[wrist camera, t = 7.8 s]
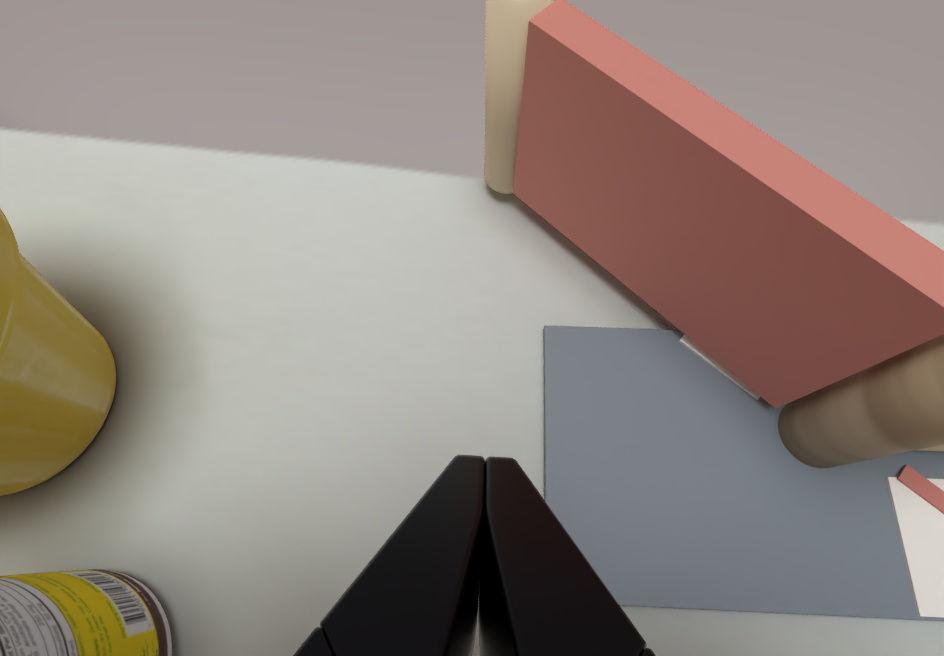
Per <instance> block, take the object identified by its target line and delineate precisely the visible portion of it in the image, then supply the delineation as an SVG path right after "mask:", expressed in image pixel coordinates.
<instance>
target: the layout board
mask: <svg viewBox="0 0 944 656" xmlns="http://www.w3.org/2000/svg"><path fill="white" fill-rule="evenodd" d="M785 405H786V404H785ZM785 405H783V406H780V407H778V408H776V409H775V408H774V407H773V406H772V405H770V404H769V403H768V402H767V401H765V400H764V399H763V398H762V397H761V396H759V395H758V394H757V393H756V392H755V391H753V390H752V389H751V388H750V387H748V386H747V385H746V384H745V383H744V382H742V381H741V380H740V379H739V378H737V377H736V376H735V375H734V374H733V373H731V372H730V371H729V370H728V369H726V368H725V367H724V366H723V365H722V364H720V363H719V362H718V361H717V360H716V359H714V358H713V357H712V356H711V355H709V354H708V353H707V352H706V351H705V350H703V349H702V348H701V347H700V346H698V345H697V344H696V343H695V342H694V341H692V340H691V339H690V338H689V337H687V336H686V335H685V334H684V333H683V332H681V331H680V330H660V329H630V328H601V327H571V326H545V327H544V459H545V502H546V503H547V505H548V506H549V507H550V509H551V510H552V512H553V513H554V514H555V516H556V517H557V519H558V520H559V521H560V523H561V524H562V526H563V527H564V528H565V530H566V531H567V533H568V534H569V535H570V537H571V538H572V540H573V541H574V543H575V544H576V545H577V547H578V548H579V550H580V551H581V552H582V554H583V555H584V557H585V558H586V559H587V561H588V562H589V564H590V565H591V566H592V568H593V569H594V571H595V572H596V573H597V575H598V576H599V578H600V579H601V580H602V582H603V583H604V585H605V586H606V587H607V589H608V590H609V592H610V593H611V594H612V596H613V597H614V599H615V600H616V601H617V603H618V604H619V605H629V606H649V607H669V608H690V609H710V610H730V611H751V612H771V613H791V614H812V615H832V616H853V617H873V618H893V619H914V620H934V621H944V451H919V450H914V451H909V452H905V453H900V454H895V455H890V456H885V457H880V458H875V459H870V460H866V461H861V462H856V463H851V464H846V465H841V466H836V467H831V468H815V467H811V466H809V465H806V464H804V463H802V462H801V461H799V460H797V459H796V458H795V457H794V456H793V455H792V454H791V453H790V452H789V451H788V450H787V449H786V447H785V446H784V444H783V442H782V440H781V438H780V435H779V430H778V419H779V415H780V413H781V411H782V409H783V408H784V406H785Z"/></svg>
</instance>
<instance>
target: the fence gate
mask: <svg viewBox="0 0 944 656" xmlns="http://www.w3.org/2000/svg"><path fill="white" fill-rule="evenodd" d="M552 2H553V0H486V62H485V64H486V67H485V164H484V165H485V166H484V167H485V168H484V169H485V170H484V176H485V181H486V183H487V184H488V186H489V187H490V188H491V189H493V190H495V191H497V192H499V193H504V194H510V193H513V194H514V195H516V196H517V197H518V198H519V199H520V200H522V201H523V202H524V203H525V204H527V205H528V206H529V207H530V208H531V209H533V210H534V211H535V212H536V213H538V214H539V215H540V216H541V217H542V218H544V219H545V220H546V221H547V222H549V223H550V224H551V225H552V226H553V227H555V228H556V229H557V230H558V231H559V232H561V233H562V234H563V235H564V236H566V237H567V238H568V239H569V240H570V241H572V242H573V243H574V244H575V245H577V246H578V247H579V248H580V249H581V250H583V251H584V252H585V253H586V254H588V255H589V256H590V257H591V258H592V259H594V260H595V261H596V262H597V263H598V264H600V265H601V266H602V267H603V268H605V269H606V270H607V271H608V272H609V273H611V274H612V275H613V276H614V277H616V278H617V279H618V280H619V281H620V282H622V283H623V284H624V285H625V286H627V287H628V288H629V289H630V290H631V291H633V292H634V293H635V294H636V295H638V296H639V297H640V298H641V299H642V300H644V301H645V302H646V303H647V304H648V305H650V306H651V307H652V308H653V309H655V310H656V311H657V312H658V313H659V314H661V315H662V316H663V317H664V318H666V319H667V320H668V321H669V322H670V323H672V324H673V325H674V326H675V327H677V328H678V329H679V330H680V331H681V332H683V333H684V334H685V335H686V336H687V337H689V338H690V339H691V340H692V341H694V342H695V343H696V344H697V345H698V346H700V347H701V348H702V349H703V350H705V351H706V352H707V353H708V354H709V355H711V356H712V357H713V358H714V359H716V360H717V361H718V362H719V363H720V364H722V365H723V366H724V367H725V368H726V369H728V370H729V371H730V372H731V373H733V374H734V375H735V376H736V377H737V378H739V379H740V380H741V381H742V382H744V383H745V384H746V385H747V386H748V387H750V388H751V389H752V390H753V391H755V392H756V393H757V394H758V395H759V396H761V397H762V398H763V399H764V400H765V401H767V402H768V403H769V404H770V405H772V406H773V407H774V408H775V409H776V408H778V407H780V406H783V405H785V404H787V403H790V402H792V401H794V400H796V399H799V398H801V397H803V396H805V395H808V394H810V393H812V392H814V391H817V390H819V389H821V388H823V387H826V386H828V385H830V384H832V383H835V382H837V381H839V380H841V379H844V378H846V377H848V376H850V375H853V374H855V373H857V372H859V371H862V370H864V369H866V368H868V367H871V366H873V365H875V364H877V363H880V362H882V361H884V360H886V359H889V358H891V357H893V356H896V355H898V354H900V353H902V352H905V351H907V350H909V349H911V348H914V347H916V346H918V345H920V344H923V343H925V342H927V341H929V340H932V339H934V338H936V337H938V336H941V335H943V334H944V251H943V250H941V249H940V248H938V247H937V246H935V245H934V244H932V243H931V242H929V241H928V240H926V239H925V238H923V237H922V236H920V235H919V234H917V233H916V232H914V231H913V230H911V229H910V228H908V227H907V226H905V225H904V224H902V223H901V222H899V221H898V220H896V219H895V218H893V217H892V216H890V215H888V214H887V213H885V212H884V211H882V210H881V209H879V208H878V207H876V206H875V205H873V204H872V203H870V202H869V201H867V200H866V199H864V198H863V197H861V196H860V195H858V194H857V193H855V192H854V191H852V190H851V189H849V188H848V187H846V186H845V185H843V184H842V183H840V182H839V181H837V180H836V179H834V178H833V177H831V176H830V175H828V174H826V173H825V172H823V171H822V170H820V169H819V168H817V167H816V166H814V165H813V164H811V163H810V162H808V161H807V160H805V159H804V158H802V157H801V156H799V155H798V154H796V153H795V152H793V151H792V150H790V149H788V148H787V147H786V146H784V145H783V144H781V143H780V142H778V141H776V140H775V139H774V138H772V137H770V136H769V135H768V134H766V133H764V132H763V131H761V130H760V129H758V128H757V127H755V126H754V125H752V124H750V123H749V122H748V121H746V120H745V119H743V118H742V117H740V116H739V115H737V114H736V113H734V112H733V111H731V110H730V109H728V108H727V107H725V106H724V105H722V104H721V103H719V102H717V101H716V100H715V99H713V98H711V97H710V96H708V95H707V94H706V93H704V92H702V91H701V90H699V89H698V88H696V87H695V86H693V85H692V84H690V83H689V82H687V81H686V80H684V79H683V78H681V77H680V76H678V75H677V74H675V73H674V72H672V71H671V70H669V69H668V68H666V67H664V66H663V65H662V64H660V63H659V62H657V61H656V60H654V59H653V58H651V57H649V56H648V55H647V54H645V53H644V52H642V51H640V50H639V49H637V48H636V47H634V46H633V45H631V44H630V43H628V42H627V41H625V40H624V39H622V38H621V37H619V36H618V35H616V34H615V33H613V32H611V31H610V30H609V29H607V28H606V27H604V26H603V25H601V24H600V23H598V22H596V21H595V20H594V19H592V18H591V17H589V16H588V15H586V14H585V13H583V12H581V11H580V10H578V9H577V8H575V7H574V6H572V5H571V4H569V3H568V2H566V1H565V0H556V1H554V2H553V3H552Z"/></svg>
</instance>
